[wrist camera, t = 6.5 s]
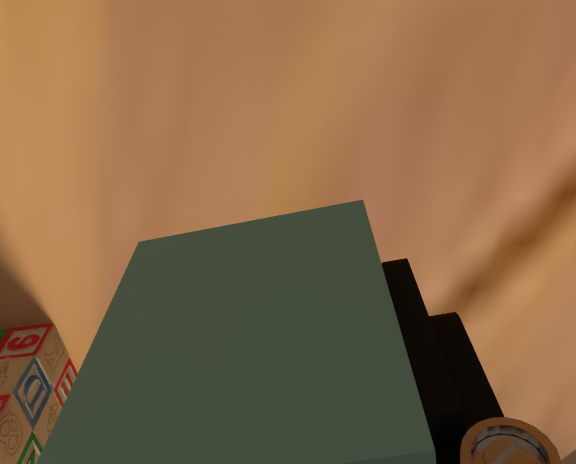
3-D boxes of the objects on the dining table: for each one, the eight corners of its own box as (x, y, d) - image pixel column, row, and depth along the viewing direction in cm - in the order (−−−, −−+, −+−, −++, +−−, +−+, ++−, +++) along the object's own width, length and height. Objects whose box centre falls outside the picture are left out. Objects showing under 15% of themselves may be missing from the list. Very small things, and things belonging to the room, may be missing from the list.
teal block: (362, 199, 11) (434, 450, 6) (388, 366, 13) (453, 644, 8) (138, 242, 11) (17, 507, 6) (203, 394, 14) (156, 673, 9)
